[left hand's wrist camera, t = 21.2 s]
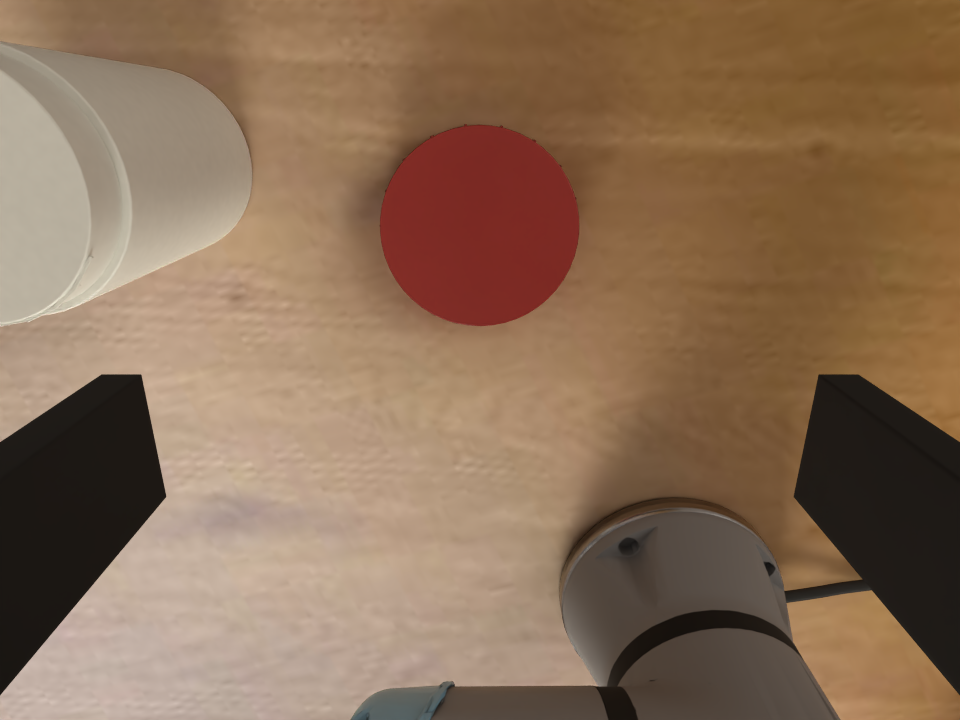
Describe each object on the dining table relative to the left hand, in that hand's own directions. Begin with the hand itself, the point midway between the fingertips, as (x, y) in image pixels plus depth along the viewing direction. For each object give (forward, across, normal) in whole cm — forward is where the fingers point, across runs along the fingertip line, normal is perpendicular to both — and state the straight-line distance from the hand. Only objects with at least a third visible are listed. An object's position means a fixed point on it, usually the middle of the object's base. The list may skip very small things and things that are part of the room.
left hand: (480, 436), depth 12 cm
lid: (+24, 0, 0) cm, 24 cm away
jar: (+26, +18, -4) cm, 31 cm away
